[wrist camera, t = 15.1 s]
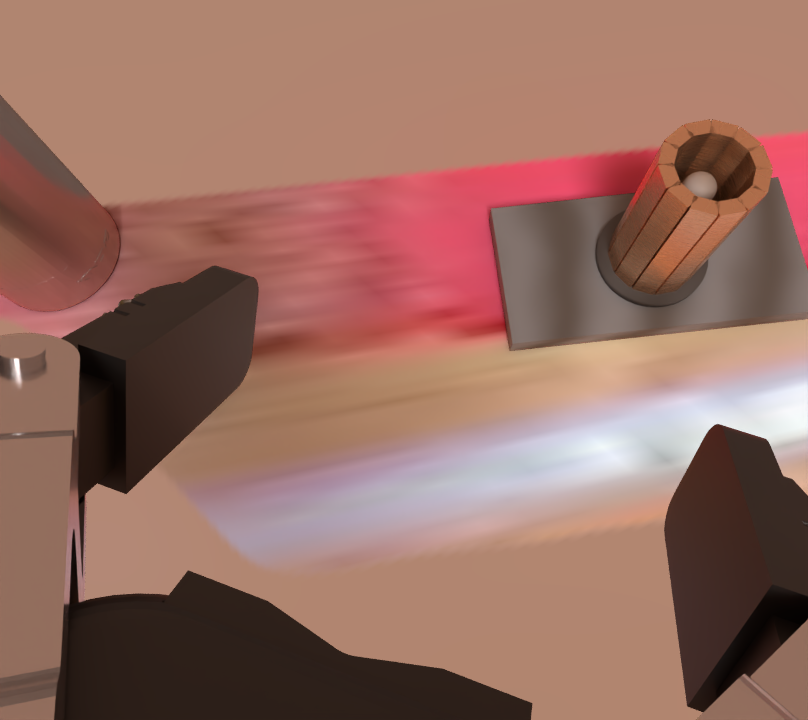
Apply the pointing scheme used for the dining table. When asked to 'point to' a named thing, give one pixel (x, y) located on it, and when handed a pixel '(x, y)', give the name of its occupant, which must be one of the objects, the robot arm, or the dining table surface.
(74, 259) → the robot arm
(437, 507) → the dining table surface
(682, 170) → the copper collar
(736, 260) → the shaft stand
